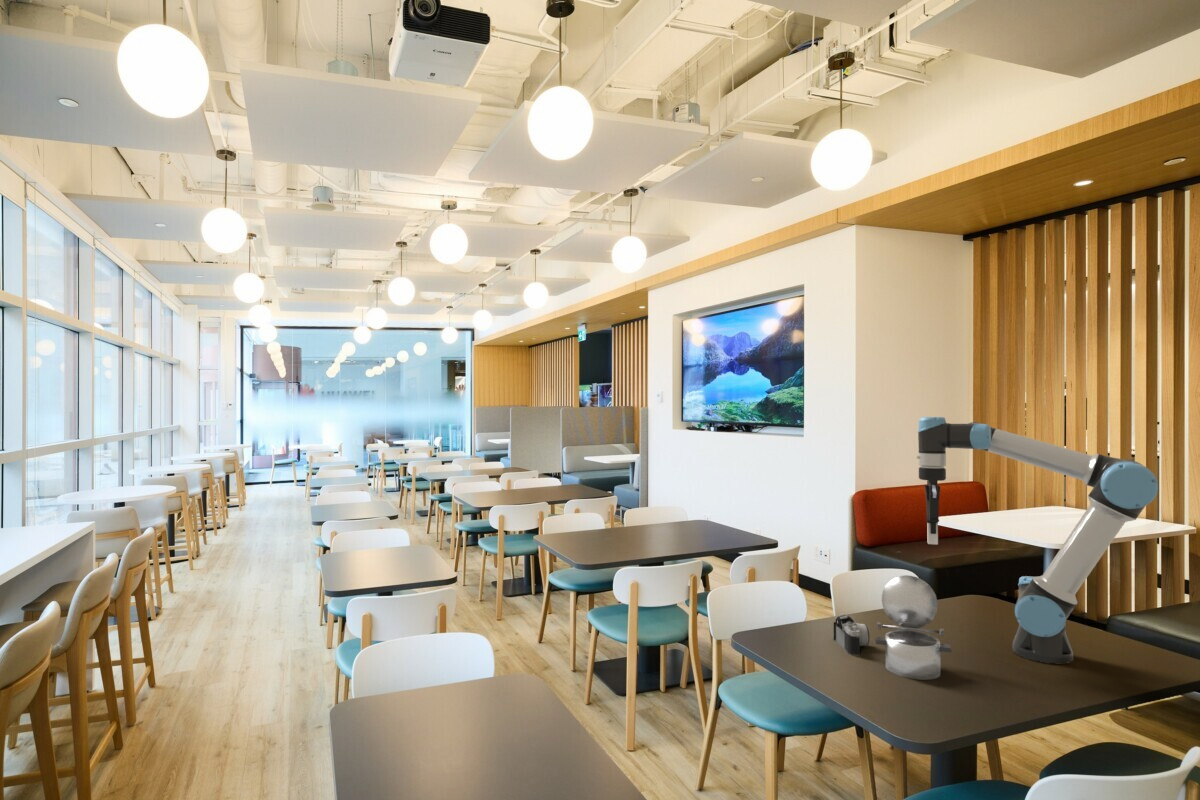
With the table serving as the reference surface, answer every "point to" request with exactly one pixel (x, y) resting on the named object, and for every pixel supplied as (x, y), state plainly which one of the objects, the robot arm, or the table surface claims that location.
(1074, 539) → the robot arm
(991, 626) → the table surface
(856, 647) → the camera
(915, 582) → the lid
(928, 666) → the pot
